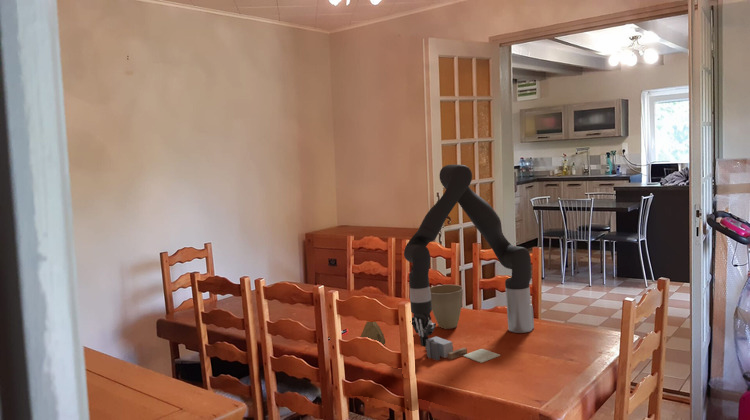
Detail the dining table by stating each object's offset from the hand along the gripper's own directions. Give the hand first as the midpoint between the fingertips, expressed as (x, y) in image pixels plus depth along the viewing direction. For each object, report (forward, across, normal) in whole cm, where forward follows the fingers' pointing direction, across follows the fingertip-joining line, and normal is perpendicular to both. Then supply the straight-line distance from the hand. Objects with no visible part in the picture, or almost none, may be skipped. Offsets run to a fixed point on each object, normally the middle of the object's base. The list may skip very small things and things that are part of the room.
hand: (424, 345), depth 204 cm
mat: (+4, -15, -13) cm, 20 cm away
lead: (+4, -3, -5) cm, 7 cm away
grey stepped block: (+4, -6, 0) cm, 7 cm away
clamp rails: (+4, -3, -7) cm, 9 cm away
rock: (+4, +24, +7) cm, 25 cm away
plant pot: (+4, +19, -27) cm, 33 cm away
